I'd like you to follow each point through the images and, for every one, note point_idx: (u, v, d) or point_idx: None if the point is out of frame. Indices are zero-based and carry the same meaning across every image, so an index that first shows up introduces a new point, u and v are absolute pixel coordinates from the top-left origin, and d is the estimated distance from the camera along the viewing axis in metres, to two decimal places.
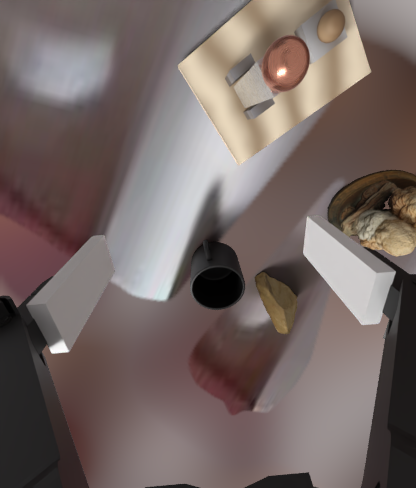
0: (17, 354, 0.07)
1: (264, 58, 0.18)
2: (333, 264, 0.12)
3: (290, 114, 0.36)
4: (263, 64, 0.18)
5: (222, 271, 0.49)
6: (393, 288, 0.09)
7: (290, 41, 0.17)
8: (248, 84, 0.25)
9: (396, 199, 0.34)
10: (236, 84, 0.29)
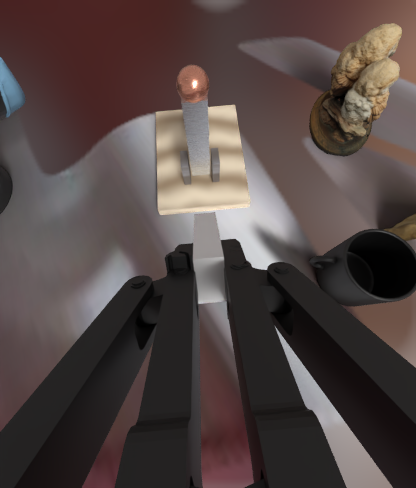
0: (184, 303, 0.09)
1: (181, 92, 0.26)
2: None
3: (233, 153, 0.44)
4: (184, 93, 0.26)
5: (362, 273, 0.38)
6: (223, 270, 0.11)
7: (181, 70, 0.25)
8: (193, 140, 0.33)
9: (337, 84, 0.39)
10: (191, 166, 0.38)
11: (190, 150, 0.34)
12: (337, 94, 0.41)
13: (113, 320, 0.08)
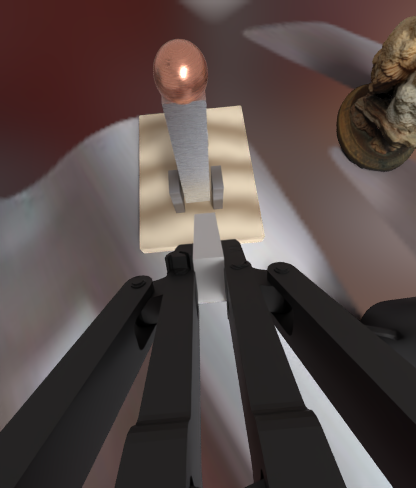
0: (184, 303, 0.09)
1: (161, 86, 0.15)
2: None
3: (239, 170, 0.34)
4: (166, 88, 0.15)
5: None
6: (223, 270, 0.11)
7: (160, 48, 0.15)
8: (185, 160, 0.22)
9: (385, 76, 0.28)
10: (183, 191, 0.27)
11: (181, 173, 0.24)
12: (381, 91, 0.30)
13: (113, 320, 0.08)
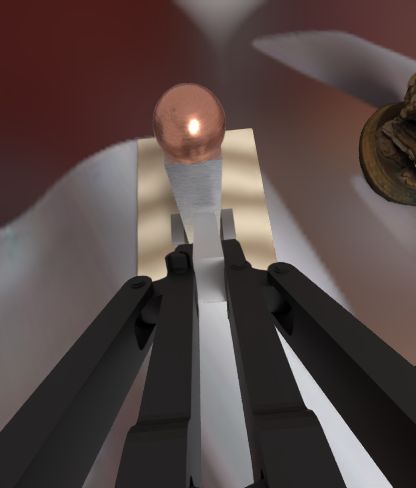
0: (184, 303, 0.09)
1: (163, 145, 0.11)
2: None
3: (251, 205, 0.30)
4: (170, 148, 0.11)
5: None
6: (223, 270, 0.11)
7: (162, 96, 0.11)
8: (192, 214, 0.18)
9: None
10: (189, 240, 0.23)
11: (187, 225, 0.20)
12: None
13: (113, 320, 0.08)
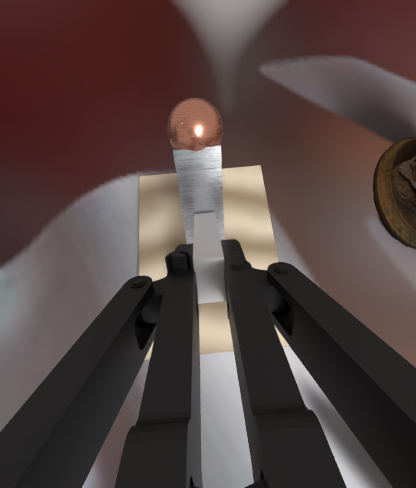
0: (184, 303, 0.09)
1: (174, 131, 0.15)
2: None
3: (261, 252, 0.28)
4: (178, 130, 0.14)
5: None
6: (223, 270, 0.11)
7: None
8: None
9: None
10: None
11: None
12: None
13: (113, 320, 0.08)
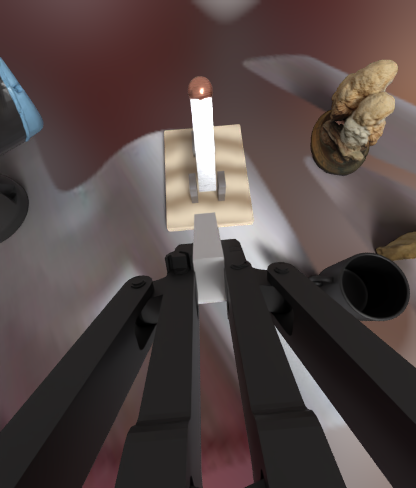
0: (184, 303, 0.09)
1: (191, 90, 0.34)
2: None
3: (237, 173, 0.47)
4: (193, 90, 0.33)
5: (357, 289, 0.41)
6: (223, 270, 0.11)
7: None
8: (200, 143, 0.37)
9: (337, 111, 0.41)
10: (198, 177, 0.40)
11: (197, 156, 0.38)
12: (337, 119, 0.43)
13: (113, 320, 0.08)
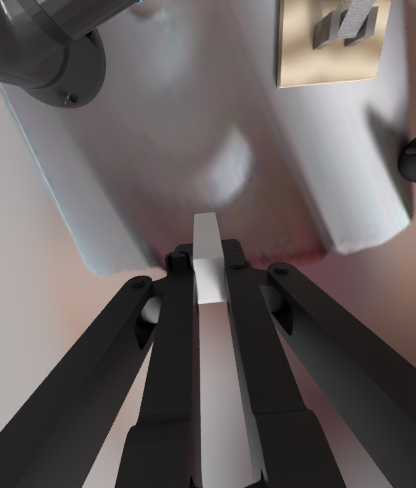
0: (184, 303, 0.09)
1: None
2: None
3: None
4: None
5: None
6: (223, 270, 0.11)
7: None
8: None
9: None
10: (344, 18, 0.32)
11: None
12: None
13: (113, 320, 0.08)
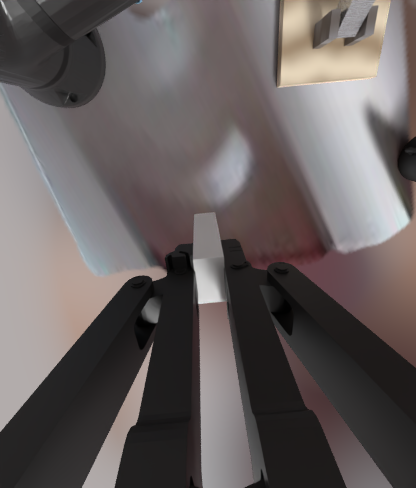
0: (184, 303, 0.09)
1: None
2: None
3: None
4: None
5: None
6: (224, 270, 0.11)
7: None
8: None
9: None
10: (344, 18, 0.32)
11: None
12: None
13: (113, 320, 0.08)
